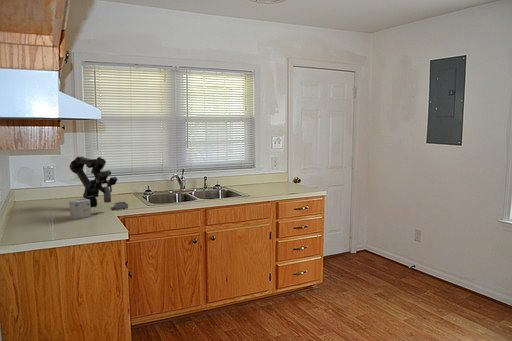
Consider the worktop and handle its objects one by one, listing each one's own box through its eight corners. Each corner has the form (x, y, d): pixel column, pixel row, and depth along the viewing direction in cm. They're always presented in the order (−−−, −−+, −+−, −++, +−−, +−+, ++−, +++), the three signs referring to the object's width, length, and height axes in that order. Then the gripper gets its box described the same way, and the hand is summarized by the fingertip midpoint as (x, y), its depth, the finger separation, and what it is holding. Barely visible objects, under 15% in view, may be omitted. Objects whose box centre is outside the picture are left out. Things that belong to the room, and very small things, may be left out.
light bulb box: (86, 214, 259) (85, 198, 257) (91, 216, 254) (90, 199, 253) (69, 217, 251) (68, 200, 249) (75, 219, 246) (73, 202, 245)
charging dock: (115, 209, 272) (114, 204, 272) (113, 206, 280) (113, 202, 279) (128, 208, 276) (127, 203, 275) (126, 205, 283) (126, 201, 283)
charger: (104, 202, 264) (103, 187, 263) (103, 201, 268) (102, 186, 267) (111, 202, 266) (110, 186, 265) (110, 201, 270) (109, 185, 269)
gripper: (88, 167, 260) (98, 186, 254) (115, 165, 274) (125, 182, 268) (83, 178, 266) (93, 197, 260) (109, 175, 280) (119, 193, 274)
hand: (108, 192), depth 266 cm, fingers closed on charger, 4 cm apart
